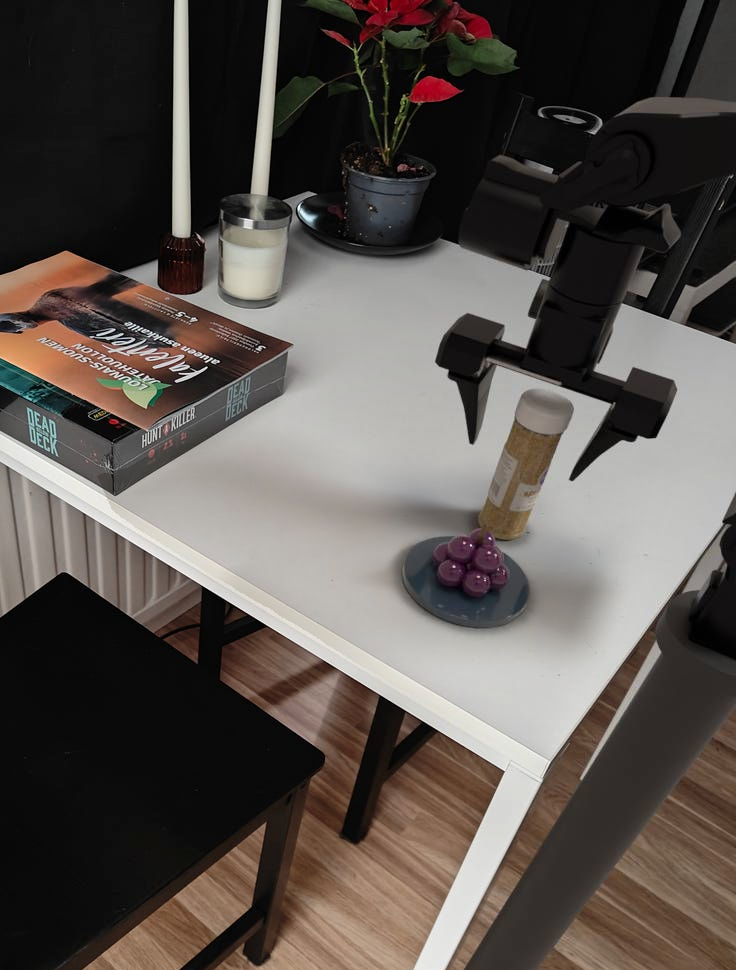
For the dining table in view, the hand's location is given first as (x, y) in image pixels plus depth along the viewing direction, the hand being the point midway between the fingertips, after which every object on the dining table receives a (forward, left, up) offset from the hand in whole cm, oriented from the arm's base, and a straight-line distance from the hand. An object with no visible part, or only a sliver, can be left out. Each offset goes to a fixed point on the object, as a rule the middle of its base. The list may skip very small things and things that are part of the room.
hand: (521, 460), depth 80 cm
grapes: (0, +10, -7) cm, 12 cm away
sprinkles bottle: (0, 0, -7) cm, 7 cm away
